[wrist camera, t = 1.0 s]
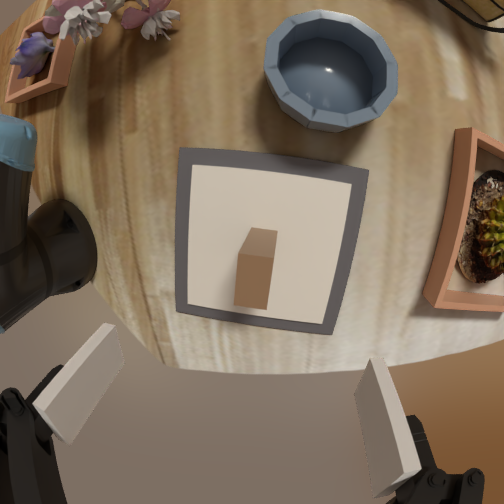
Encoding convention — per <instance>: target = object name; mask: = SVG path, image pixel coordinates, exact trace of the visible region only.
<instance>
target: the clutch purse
mask: <svg viewBox="0 0 504 504" xmlns="http://www.w3.org/2000/svg"><path fill="white" fill-rule="evenodd" d="M438 1H440V2H441V3H442V4H444V5H445V6H446V7H448V8H449V9H451V10H452V11H453V12H455V13H456V14H458V15H459V16H460V17H462V18H463V19H465V20H466V21H467V22H469V23H470V24H472V25H473V26H475V27H478V28H480V29H483V30H487V31H491V32H498V33H504V28H493V27H488V26H484V25H480V24H478V23H475V22H474V21H472V20H471V19H469V18H468V17H466V16H465V15H463V14H462V13H461V12H459V11H458V10H457V9H455V8H454V7H452V6H451V5H450V4H448V3H447V2H445V1H444V0H438ZM463 1H464V2H465V3H467V4H468V5H469V6H470V7H471V8H473V9H474V10H475V11H476V12H477V13H478V14H479V15H481V16H482V17H483V18H484V19H485V20H486V22H492V21H494V20H497V19H499V18H501V17H503V16H504V0H463Z"/></svg>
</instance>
